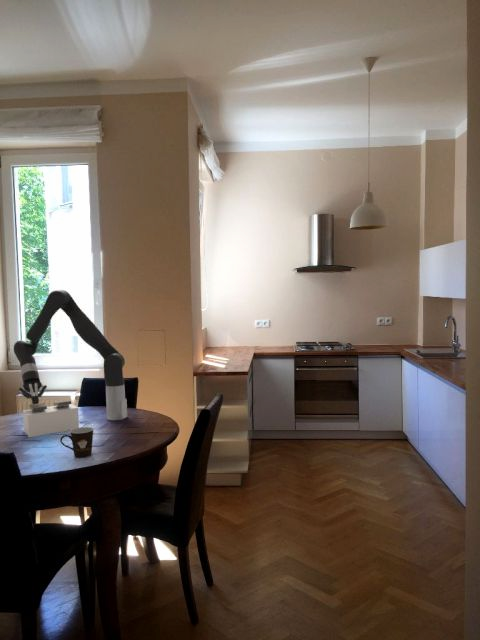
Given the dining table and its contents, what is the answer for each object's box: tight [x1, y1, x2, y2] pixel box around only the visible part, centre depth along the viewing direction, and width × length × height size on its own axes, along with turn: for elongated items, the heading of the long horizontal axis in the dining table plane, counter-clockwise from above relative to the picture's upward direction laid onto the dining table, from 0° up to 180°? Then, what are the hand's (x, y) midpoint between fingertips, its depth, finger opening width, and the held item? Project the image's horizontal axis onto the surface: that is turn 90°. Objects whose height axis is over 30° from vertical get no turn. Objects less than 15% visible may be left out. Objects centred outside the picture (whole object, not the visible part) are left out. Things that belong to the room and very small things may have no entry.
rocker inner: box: [53, 400, 72, 406], centre depth 225 cm, size 6×8×2 cm
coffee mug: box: [59, 426, 94, 459], centre depth 185 cm, size 12×9×10 cm
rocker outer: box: [28, 402, 48, 411], centre depth 219 cm, size 6×8×2 cm
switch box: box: [22, 403, 80, 438], centre depth 223 cm, size 22×12×11 cm, turn 125°
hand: (36, 404), depth 222 cm, fingers closed
